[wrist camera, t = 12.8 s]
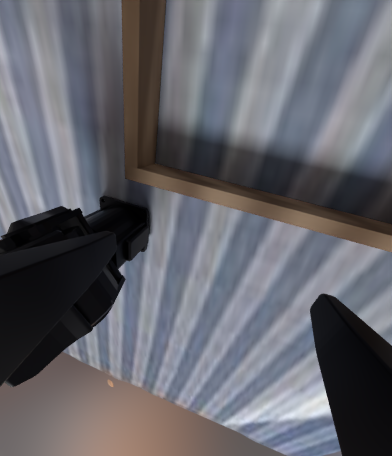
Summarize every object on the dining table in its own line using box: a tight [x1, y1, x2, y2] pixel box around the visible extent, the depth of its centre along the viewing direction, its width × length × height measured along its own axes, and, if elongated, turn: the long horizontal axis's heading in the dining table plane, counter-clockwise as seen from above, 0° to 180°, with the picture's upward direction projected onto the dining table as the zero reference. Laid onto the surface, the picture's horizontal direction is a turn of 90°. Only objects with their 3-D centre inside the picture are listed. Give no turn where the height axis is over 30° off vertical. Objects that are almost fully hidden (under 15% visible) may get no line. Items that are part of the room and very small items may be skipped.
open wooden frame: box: [122, 0, 392, 252], centre depth 11 cm, size 25×17×4 cm
